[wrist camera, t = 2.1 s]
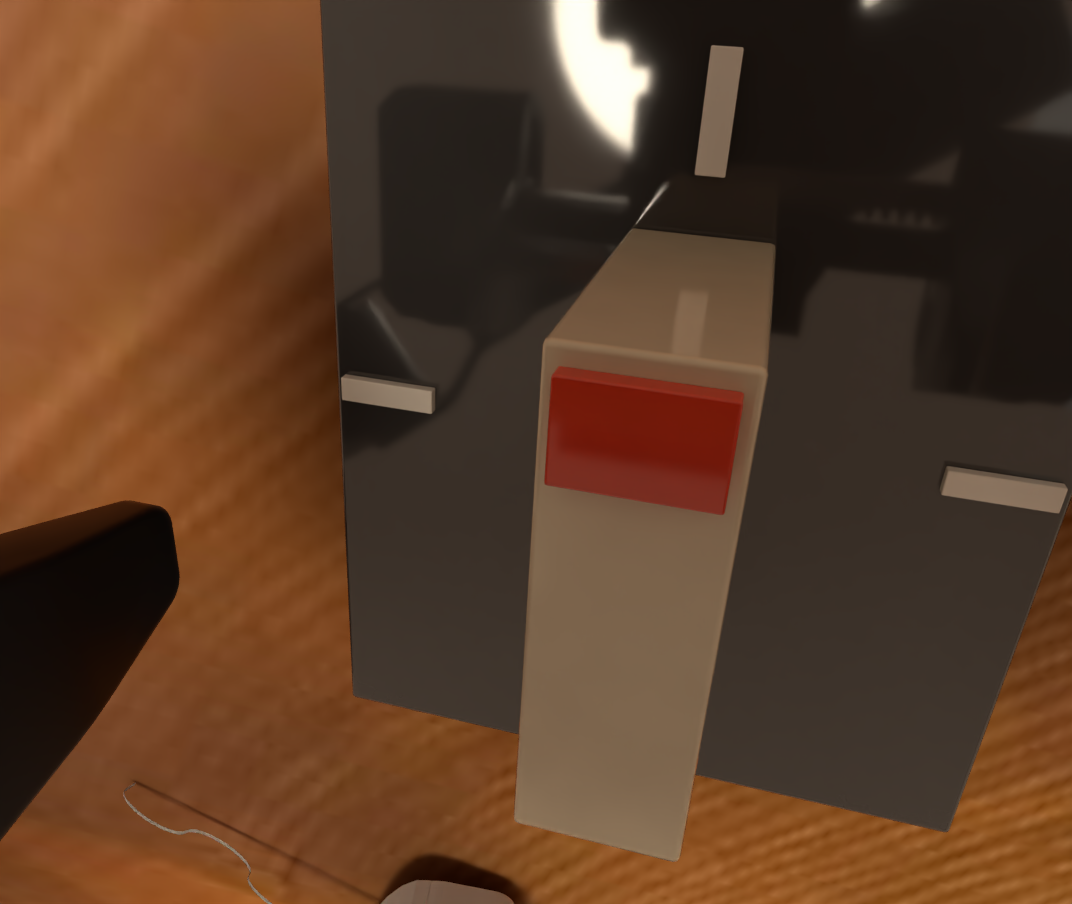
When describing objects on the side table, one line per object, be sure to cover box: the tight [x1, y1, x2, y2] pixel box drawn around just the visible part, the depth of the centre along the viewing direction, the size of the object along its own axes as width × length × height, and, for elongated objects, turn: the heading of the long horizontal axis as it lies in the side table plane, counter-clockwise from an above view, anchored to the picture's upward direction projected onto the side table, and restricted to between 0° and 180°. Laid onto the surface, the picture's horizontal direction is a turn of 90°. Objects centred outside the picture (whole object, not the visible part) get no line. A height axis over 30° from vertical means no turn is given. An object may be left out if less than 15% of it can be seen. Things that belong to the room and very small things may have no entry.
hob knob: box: [514, 228, 776, 862], centre depth 10 cm, size 6×2×5 cm, turn 177°
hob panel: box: [320, 0, 1072, 832], centre depth 13 cm, size 12×10×3 cm
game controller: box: [123, 783, 514, 904], centre depth 22 cm, size 6×12×3 cm, turn 88°
